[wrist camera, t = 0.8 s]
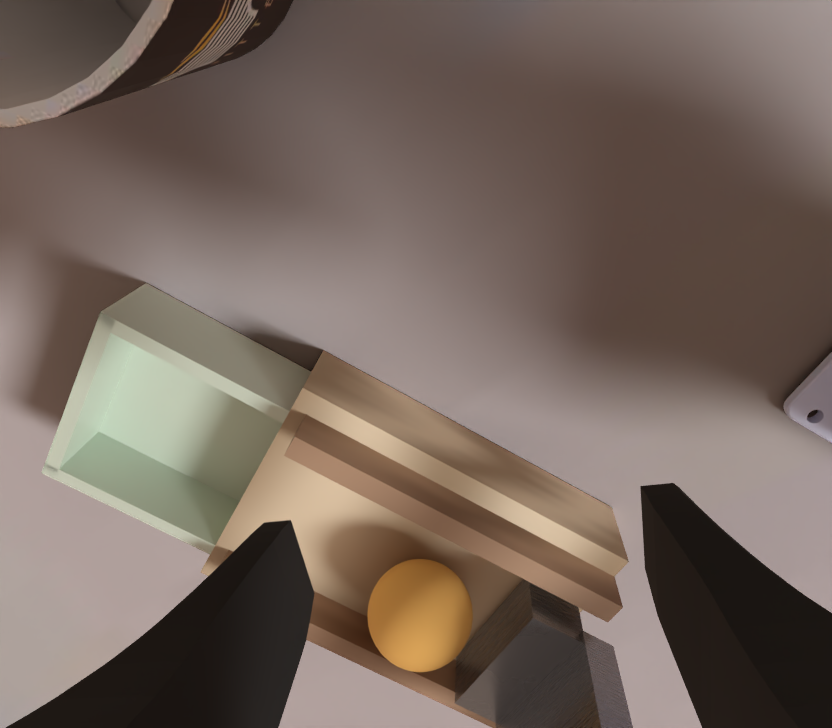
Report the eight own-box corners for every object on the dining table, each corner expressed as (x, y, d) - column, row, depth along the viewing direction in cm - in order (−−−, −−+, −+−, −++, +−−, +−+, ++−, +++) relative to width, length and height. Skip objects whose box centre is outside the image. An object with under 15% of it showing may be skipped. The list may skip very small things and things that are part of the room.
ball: (491, 565, 22) (494, 647, 19) (441, 626, 24) (435, 712, 21) (405, 521, 22) (393, 597, 19) (358, 586, 23) (340, 667, 20)
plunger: (603, 606, 22) (657, 832, 16) (520, 691, 24) (537, 921, 18) (531, 569, 22) (555, 784, 15) (453, 658, 24) (444, 882, 17)
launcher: (611, 507, 24) (638, 591, 20) (486, 647, 28) (487, 742, 24) (323, 350, 23) (290, 409, 19) (228, 520, 26) (184, 600, 22)
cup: (311, 371, 23) (289, 411, 20) (238, 504, 26) (210, 554, 23) (146, 283, 22) (99, 311, 20) (88, 429, 25) (41, 472, 22)
